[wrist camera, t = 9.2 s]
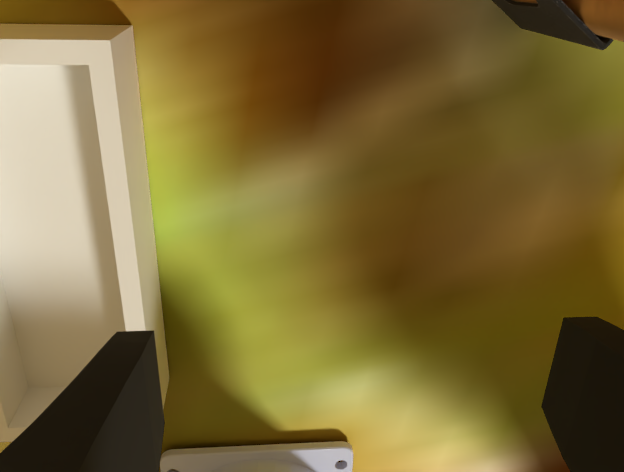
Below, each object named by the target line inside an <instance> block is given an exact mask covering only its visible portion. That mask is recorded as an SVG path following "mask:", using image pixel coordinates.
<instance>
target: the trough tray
mask: <svg viewBox="0 0 624 472" xmlns="http://www.w3.org/2000/svg"><path fill="white" fill-rule="evenodd" d="M152 330H154V335H155V344H156V352H157V361H158V370H159V379H160V387H161V396H162V405H163V408H164V403H165V398H166V393H167V388H168V383H169V378H170V377H169V368H168V358H167V349H166V339H165V330H164V320H163V311H162V301H161V292H160V282H159V273H158V263H157V254H156V244H155V234H154V225H153V215H152V206H151V196H150V187H149V177H148V168H147V158H146V149H145V139H144V130H143V120H142V111H141V101H140V92H139V82H138V73H137V63H136V54H135V44H134V35H133V25H72V24H0V442H13V441H14V440H15V439H16V438H17V437H18V436H19V435H20V434H21V433H22V432H23V431H24V430H25V429H26V428H27V427H28V426H29V425H31V424H32V423H33V422H34V420H35V419H36V418H37V417H38V416H39V415H40V414H41V413H42V412H43V411H44V410H45V409H46V408H47V407H48V406H49V405H50V404H51V403H52V402H53V401H54V400H55V399H56V398H57V397H58V395H59V394H60V393H61V392H62V391H63V390H64V389H65V388H66V387H67V386H68V385H69V384H70V383H71V382H72V381H73V379H74V378H75V377H76V376H77V375H78V374H79V373H80V372H81V371H82V369H83V368H84V367H85V366H86V365H87V364H88V363H89V362H90V360H91V359H92V358H93V357H94V356H95V355H96V354H97V353H98V351H99V350H100V349H101V348H102V347H103V346H104V345H105V344H106V342H107V341H108V340H109V339H110V338H111V337H112V336H113V335H114V334H115V333H116V332H119V331H152Z"/></svg>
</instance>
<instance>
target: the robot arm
mask: <svg viewBox="0 0 624 472" xmlns="http://www.w3.org/2000/svg"><path fill="white" fill-rule="evenodd" d="M542 409H543V411H544V414H545V416H546V419H547V421H548V424H549V426H550V429H551V431H552V434H553V436H554V439H555V441H556V443H557V445H558V448H559V450H560V452H561V454H562V457H563V459H564V460H565V462H566V464H567V466H568V468H569V469H570V471H571V472H624V330H622V329H620V328H618V327H616V326H614V325H612V324H611V323H609V322H606V321H604V320H602V319H600V318H598V317H573V318H563V322H562V326H561V330H560V334H559V338H558V342H557V346H556V350H555V354H554V358H553V362H552V366H551V370H550V374H549V378H548V382H547V386H546V390H545V394H544V398H543V402H542ZM164 424H165V422H164V413H163V405H162V396H161V387H160V379H159V370H158V361H157V352H156V344H155V335H154V330H152V331H119V332H116V333H115V334H114V335H113V336H112V337H111V338H110V339H109V340H108V341H107V342H106V344H105V345H104V346H103V347H102V348H101V349H100V350H99V351H98V353H97V354H96V355H95V356H94V357H93V358H92V359H91V360H90V362H89V363H88V364H87V365H86V366H85V367H84V368H83V369H82V371H81V372H80V373H79V374H78V375H77V376H76V377H75V378H74V379H73V381H72V382H71V383H70V384H69V385H68V386H67V387H66V388H65V389H64V390H63V391H62V392H61V393H60V394H59V395H58V397H57V398H56V399H55V400H54V401H53V402H52V403H51V404H50V405H49V406H48V407H47V408H46V409H45V410H44V411H43V412H42V413H41V414H40V415H39V416H38V417H37V418H36V419H35V420H34V422H33V423H32V424H31V425H29V426H28V427H27V428H26V429H25V430H24V431H23V432H22V433H21V434H20V435H19V436H18V437H17V438H16V439H15V440H14V441H13V442H12V443H11V444H10V445H9V446H8V447H6V448H5V449H4V450H3V451H2V452H1V453H0V472H159V466H160V470H161V472H352V466H353V451H352V446H351V445H350V444H349V443H347V442H345V441H334V442H313V443H292V444H271V445H250V446H230V447H209V448H188V449H171V450H167V451H165V452H164V453H163V454H162V455H161V450H162V441H163V432H164ZM160 458H161V460H160ZM341 460H343V462H338V461H341ZM170 469H176V470H175V471H174V470H170Z"/></svg>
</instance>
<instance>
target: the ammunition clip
mask: <svg viewBox="0 0 624 472" xmlns="http://www.w3.org/2000/svg"><path fill="white" fill-rule="evenodd" d="M492 1H493V2H494V3H495V4H496V5H497V6H498V7H499V8H501V9H502V10H503V11H504V12H505V13H506V14H507V15H508V16H509V17H510V18H511V19H512V20H513V21H514V22H515V23H516V24H517V25H518V26H519V27H520V28H522V29H526V30H530V31H533V32H537V33H541V34H545V35H548V36H552V37H556V38H560V39H563V40H567V41H571V42H574V43H578V44H582V45H586V46H589V47H593V48H597V49H600V50H604V49H606V48H607V47H608V46H609V45H610V44H611V42H612V41H613V39H615V40H619V41H623V42H624V0H492Z"/></svg>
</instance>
